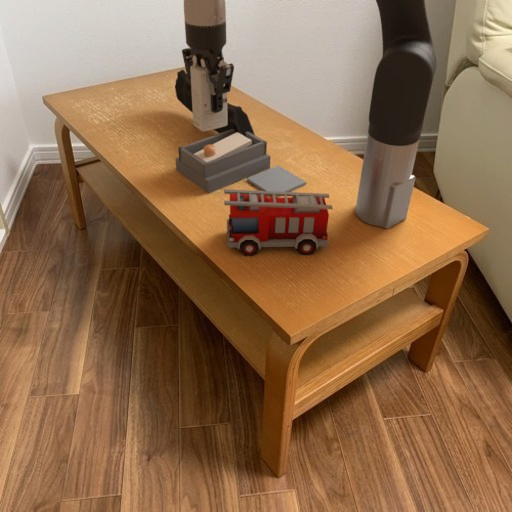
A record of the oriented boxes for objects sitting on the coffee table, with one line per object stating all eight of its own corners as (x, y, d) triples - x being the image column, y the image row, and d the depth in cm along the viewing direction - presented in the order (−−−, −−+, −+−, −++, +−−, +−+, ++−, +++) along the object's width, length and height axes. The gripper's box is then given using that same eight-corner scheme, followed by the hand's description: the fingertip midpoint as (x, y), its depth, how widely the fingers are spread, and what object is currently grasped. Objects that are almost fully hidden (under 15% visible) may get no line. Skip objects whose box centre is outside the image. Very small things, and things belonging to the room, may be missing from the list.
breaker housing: (236, 148, 130) (236, 124, 127) (270, 168, 123) (271, 143, 120) (176, 170, 122) (174, 145, 118) (208, 193, 115) (207, 167, 111)
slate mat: (306, 184, 118) (306, 181, 118) (274, 198, 114) (275, 196, 113) (278, 167, 123) (278, 165, 123) (247, 180, 119) (247, 178, 118)
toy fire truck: (224, 227, 105) (223, 182, 99) (322, 226, 106) (327, 182, 100) (225, 257, 98) (224, 210, 92) (329, 255, 99) (335, 209, 93)
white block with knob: (237, 135, 124) (236, 126, 122) (251, 144, 121) (251, 134, 119) (194, 157, 119) (192, 147, 117) (208, 166, 116) (206, 156, 114)
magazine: (258, 118, 119) (178, 43, 130) (246, 125, 118) (167, 49, 129) (258, 167, 134) (186, 96, 145) (247, 174, 133) (176, 102, 144)
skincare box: (203, 132, 111) (200, 72, 103) (192, 124, 113) (188, 65, 106) (229, 125, 113) (228, 66, 106) (217, 117, 116) (216, 60, 109)
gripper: (246, 23, 98) (246, 114, 109) (199, 6, 107) (203, 92, 117) (212, 31, 94) (215, 124, 105) (166, 13, 103) (173, 101, 113)
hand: (209, 107), depth 111 cm, fingers closed on skincare box, 4 cm apart
